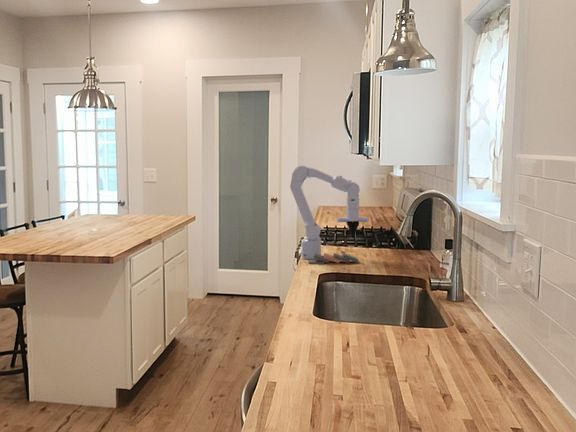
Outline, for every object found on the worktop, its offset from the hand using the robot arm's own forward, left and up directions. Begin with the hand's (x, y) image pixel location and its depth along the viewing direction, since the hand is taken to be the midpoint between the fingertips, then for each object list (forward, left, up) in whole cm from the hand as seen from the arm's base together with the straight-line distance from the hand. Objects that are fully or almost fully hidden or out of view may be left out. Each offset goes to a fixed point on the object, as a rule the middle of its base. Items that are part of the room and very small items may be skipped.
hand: (352, 237), depth 233 cm
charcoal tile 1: (+1, -9, -9) cm, 13 cm away
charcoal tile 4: (-12, -8, -9) cm, 17 cm away
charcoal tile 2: (-3, -9, -9) cm, 13 cm away
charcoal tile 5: (-14, -9, -10) cm, 20 cm away
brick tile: (-8, -9, -9) cm, 15 cm away
